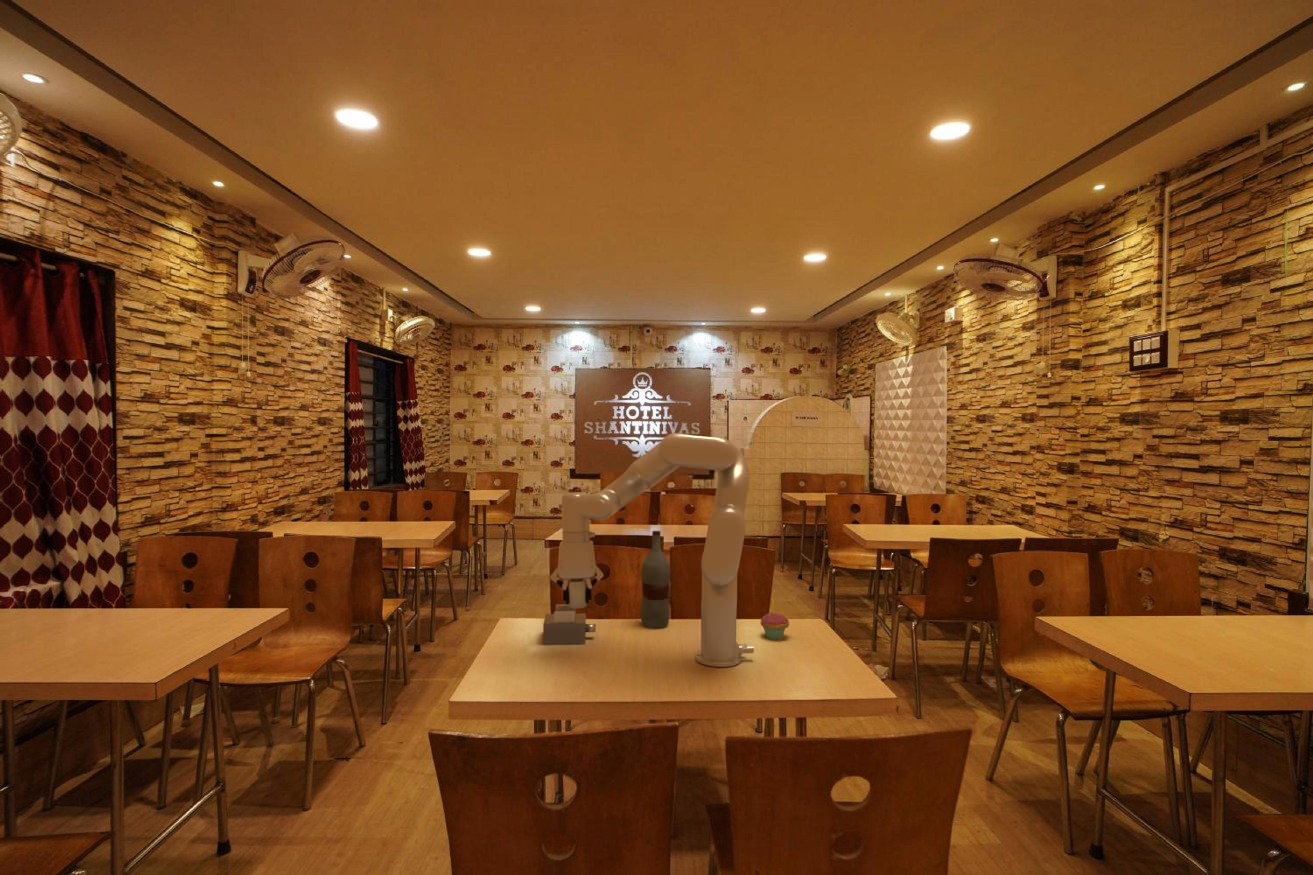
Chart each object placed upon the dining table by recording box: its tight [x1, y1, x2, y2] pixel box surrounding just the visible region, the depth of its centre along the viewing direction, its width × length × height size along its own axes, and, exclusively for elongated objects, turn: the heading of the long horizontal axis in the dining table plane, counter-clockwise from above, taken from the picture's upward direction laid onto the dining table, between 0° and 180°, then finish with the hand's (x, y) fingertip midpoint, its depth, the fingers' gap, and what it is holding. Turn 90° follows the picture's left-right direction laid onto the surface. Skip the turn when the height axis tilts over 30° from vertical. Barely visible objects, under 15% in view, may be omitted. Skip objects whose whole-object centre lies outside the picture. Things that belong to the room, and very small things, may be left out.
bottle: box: [640, 530, 671, 630], centre depth 201 cm, size 9×9×30 cm
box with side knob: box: [542, 604, 597, 646], centre depth 187 cm, size 15×12×9 cm
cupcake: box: [760, 597, 790, 640], centre depth 190 cm, size 9×8×12 cm
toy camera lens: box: [567, 579, 588, 609], centre depth 174 cm, size 5×5×8 cm
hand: (577, 602), depth 174 cm, fingers closed on toy camera lens, 5 cm apart
